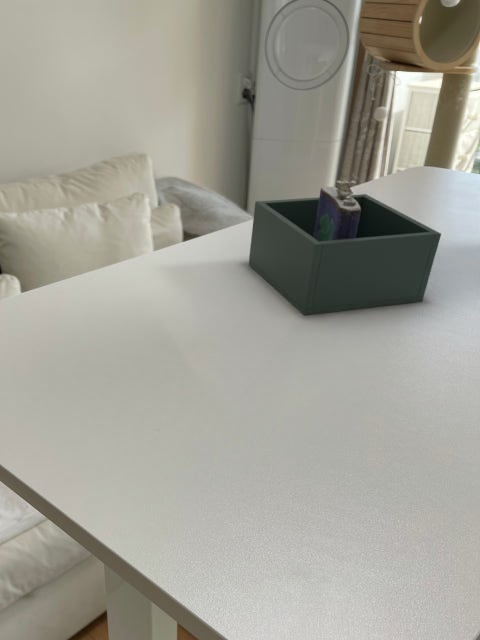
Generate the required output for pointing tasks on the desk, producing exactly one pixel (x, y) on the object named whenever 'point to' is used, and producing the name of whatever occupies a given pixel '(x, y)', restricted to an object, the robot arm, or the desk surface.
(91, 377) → the desk surface
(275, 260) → the bin
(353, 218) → the flask
